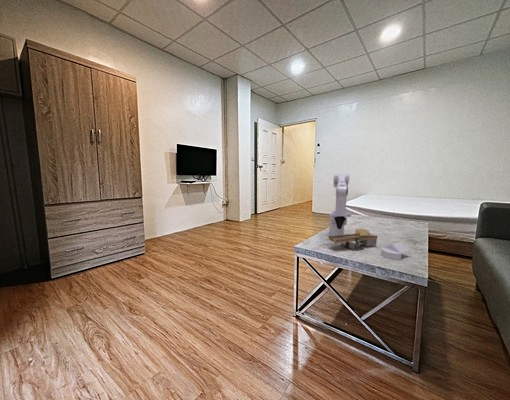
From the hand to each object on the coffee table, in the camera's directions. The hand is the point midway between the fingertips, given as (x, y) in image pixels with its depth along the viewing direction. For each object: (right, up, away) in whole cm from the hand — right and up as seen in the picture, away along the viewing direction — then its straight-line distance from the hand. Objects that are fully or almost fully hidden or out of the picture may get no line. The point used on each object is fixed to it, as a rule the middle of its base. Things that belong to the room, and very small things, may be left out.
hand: (339, 228), depth 126 cm
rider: (+13, -5, 0) cm, 14 cm away
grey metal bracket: (+7, -11, -1) cm, 13 cm away
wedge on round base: (+24, -13, -13) cm, 30 cm away
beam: (+8, -10, -1) cm, 13 cm away
